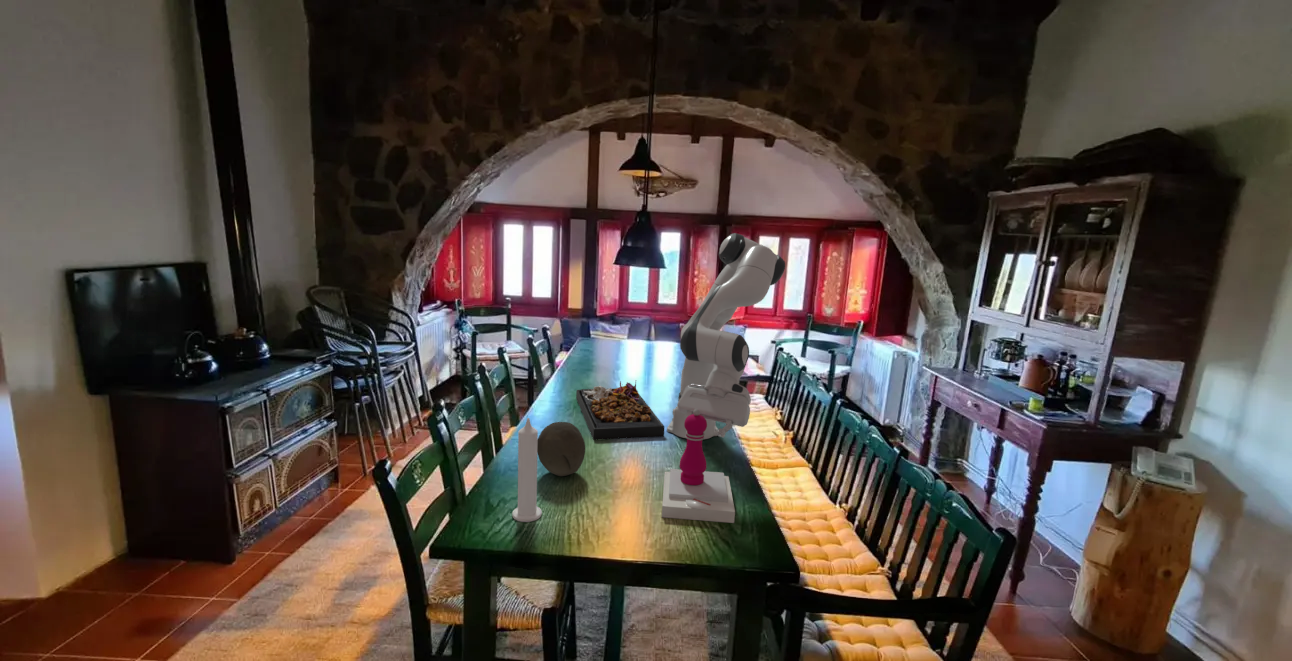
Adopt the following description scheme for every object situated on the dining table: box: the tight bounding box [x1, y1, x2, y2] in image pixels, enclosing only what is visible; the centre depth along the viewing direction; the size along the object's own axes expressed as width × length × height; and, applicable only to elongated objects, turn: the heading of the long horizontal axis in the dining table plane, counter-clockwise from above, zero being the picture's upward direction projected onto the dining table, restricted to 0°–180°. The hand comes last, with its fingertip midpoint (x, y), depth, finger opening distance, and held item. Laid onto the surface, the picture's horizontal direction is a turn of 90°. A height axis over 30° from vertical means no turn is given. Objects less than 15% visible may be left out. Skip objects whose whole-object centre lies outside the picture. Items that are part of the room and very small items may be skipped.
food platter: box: [575, 380, 665, 441], centre depth 210 cm, size 45×25×10 cm, turn 14°
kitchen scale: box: [661, 468, 736, 524], centre depth 148 cm, size 20×18×4 cm
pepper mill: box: [679, 409, 707, 485], centre depth 149 cm, size 7×7×20 cm
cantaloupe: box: [537, 421, 586, 477], centre depth 159 cm, size 14×14×15 cm
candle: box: [511, 417, 543, 523], centre depth 134 cm, size 7×7×25 cm
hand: (704, 432), depth 151 cm, fingers open, 8 cm apart
